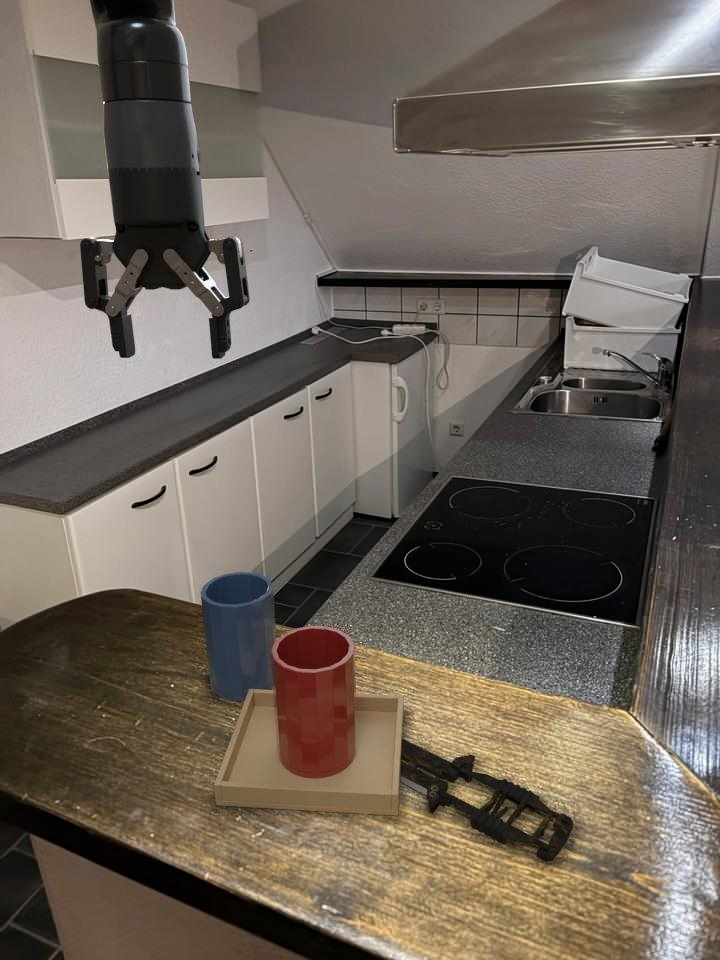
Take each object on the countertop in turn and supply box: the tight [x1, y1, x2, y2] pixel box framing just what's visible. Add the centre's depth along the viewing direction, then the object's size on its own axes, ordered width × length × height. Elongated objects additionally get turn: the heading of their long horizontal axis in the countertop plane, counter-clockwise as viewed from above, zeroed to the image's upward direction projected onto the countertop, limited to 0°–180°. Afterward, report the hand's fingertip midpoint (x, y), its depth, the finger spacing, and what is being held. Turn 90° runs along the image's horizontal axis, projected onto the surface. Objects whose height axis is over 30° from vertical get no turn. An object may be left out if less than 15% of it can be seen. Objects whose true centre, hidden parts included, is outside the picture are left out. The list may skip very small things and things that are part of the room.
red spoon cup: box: [271, 625, 357, 778], centre depth 62 cm, size 6×6×10 cm
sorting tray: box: [213, 689, 405, 817], centre depth 63 cm, size 14×12×2 cm
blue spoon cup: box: [200, 571, 277, 702], centre depth 72 cm, size 6×6×10 cm
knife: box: [400, 738, 574, 863], centre depth 62 cm, size 25×6×1 cm, turn 48°
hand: (173, 356), depth 69 cm, fingers open, 8 cm apart
